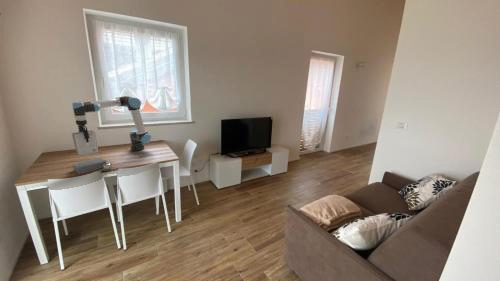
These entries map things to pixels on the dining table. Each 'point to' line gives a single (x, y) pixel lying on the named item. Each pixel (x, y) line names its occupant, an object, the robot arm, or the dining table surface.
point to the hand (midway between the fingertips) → (85, 144)
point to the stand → (88, 165)
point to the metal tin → (107, 166)
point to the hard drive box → (80, 143)
